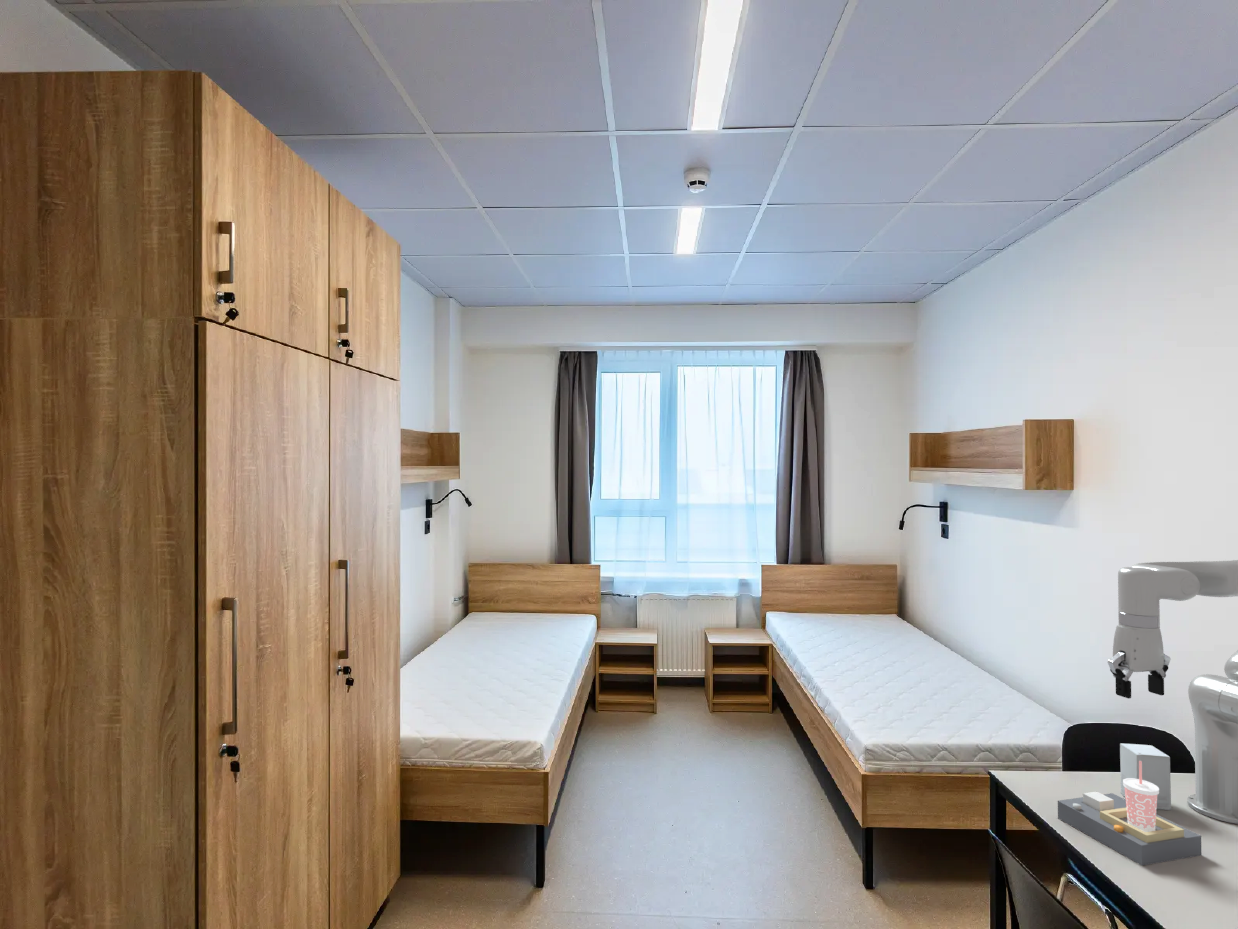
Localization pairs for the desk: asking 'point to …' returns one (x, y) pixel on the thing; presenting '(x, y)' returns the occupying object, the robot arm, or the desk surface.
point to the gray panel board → (1130, 832)
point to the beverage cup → (1141, 802)
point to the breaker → (1098, 801)
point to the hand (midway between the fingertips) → (1139, 695)
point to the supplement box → (1147, 769)
